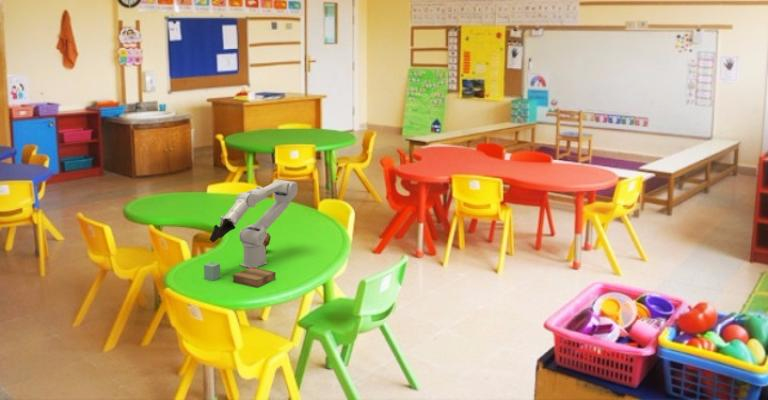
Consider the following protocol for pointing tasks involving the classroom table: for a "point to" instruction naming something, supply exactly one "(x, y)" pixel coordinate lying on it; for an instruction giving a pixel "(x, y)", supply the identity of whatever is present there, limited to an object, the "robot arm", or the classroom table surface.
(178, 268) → the classroom table surface
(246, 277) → the walnut base
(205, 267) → the teal block
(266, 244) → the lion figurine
